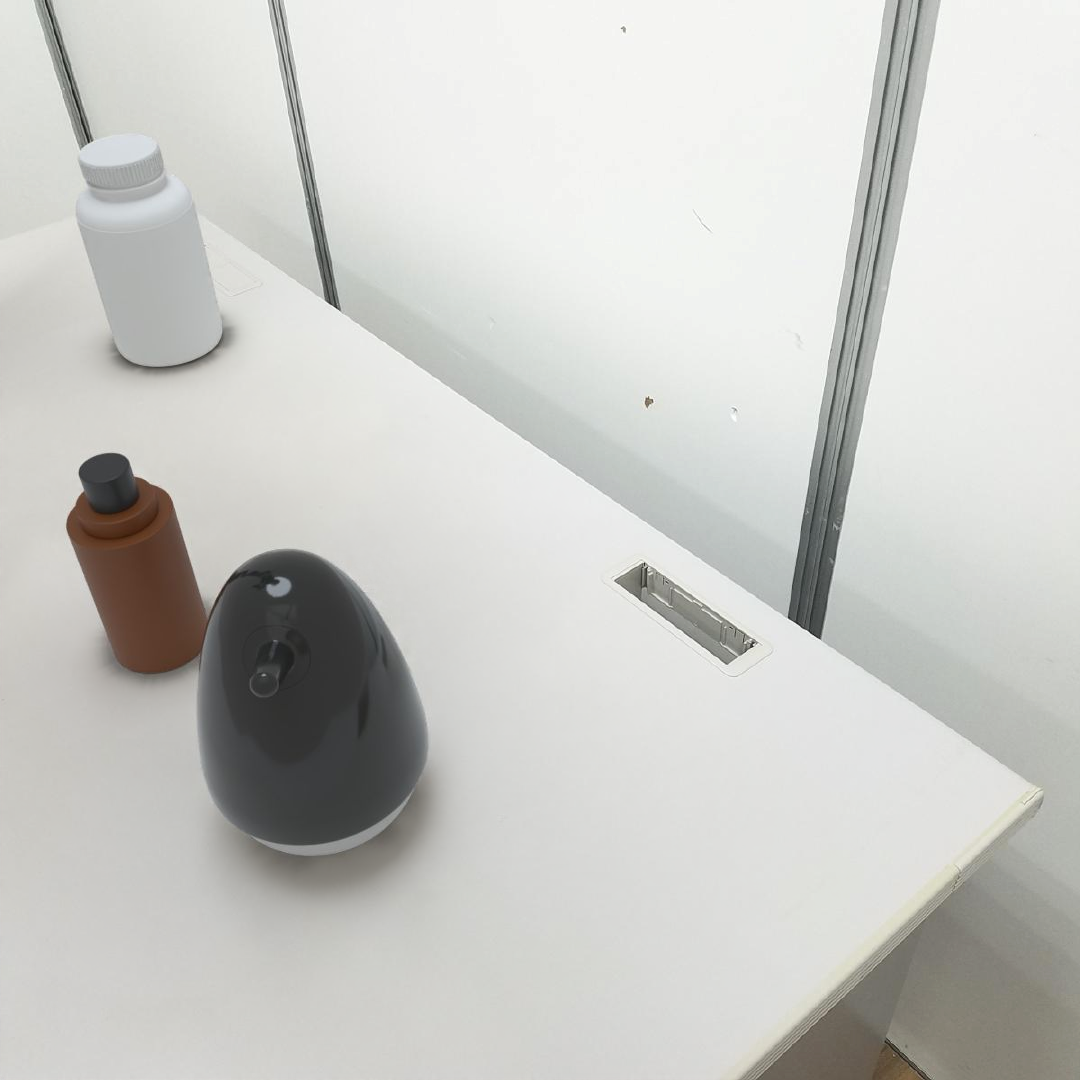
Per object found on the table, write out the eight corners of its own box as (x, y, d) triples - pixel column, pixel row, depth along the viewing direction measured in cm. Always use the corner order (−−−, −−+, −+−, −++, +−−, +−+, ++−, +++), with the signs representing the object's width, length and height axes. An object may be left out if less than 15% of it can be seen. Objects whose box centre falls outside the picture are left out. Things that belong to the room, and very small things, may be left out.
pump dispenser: (203, 901, 51) (113, 673, 41) (239, 719, 59) (171, 490, 49) (432, 891, 51) (398, 662, 41) (437, 711, 59) (411, 481, 49)
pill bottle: (96, 363, 84) (33, 167, 74) (149, 308, 90) (97, 120, 80) (195, 376, 83) (144, 178, 73) (242, 320, 88) (201, 129, 78)
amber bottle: (93, 658, 62) (23, 486, 54) (151, 595, 66) (94, 426, 58) (173, 684, 61) (113, 512, 53) (228, 618, 64) (180, 448, 56)
